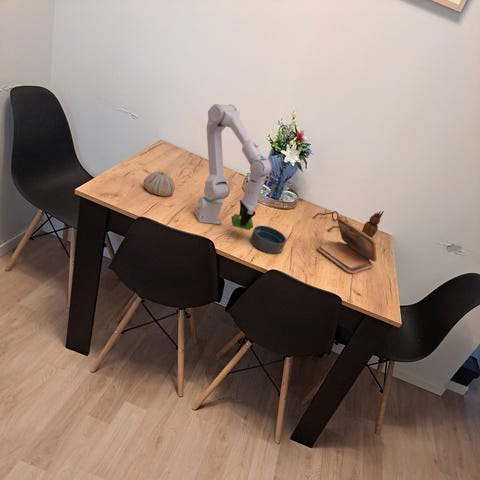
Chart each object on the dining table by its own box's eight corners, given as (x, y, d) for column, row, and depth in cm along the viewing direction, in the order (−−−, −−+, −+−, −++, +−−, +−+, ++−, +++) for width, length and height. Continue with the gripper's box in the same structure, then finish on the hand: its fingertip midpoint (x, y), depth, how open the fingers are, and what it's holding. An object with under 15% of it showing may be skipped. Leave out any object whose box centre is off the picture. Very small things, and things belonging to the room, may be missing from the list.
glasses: (346, 231, 230) (351, 223, 227) (328, 231, 223) (332, 222, 220) (331, 218, 238) (335, 209, 235) (312, 217, 231) (316, 208, 228)
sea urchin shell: (174, 201, 196) (178, 183, 191) (141, 193, 192) (145, 175, 187) (173, 188, 206) (177, 171, 201) (142, 180, 202) (146, 163, 197)
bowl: (257, 253, 183) (261, 242, 180) (245, 234, 192) (248, 224, 189) (287, 255, 189) (291, 245, 186) (273, 237, 198) (277, 227, 196)
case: (374, 267, 207) (392, 236, 198) (350, 275, 193) (368, 242, 184) (340, 243, 216) (355, 212, 207) (314, 249, 202) (329, 216, 193)
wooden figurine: (372, 237, 235) (387, 210, 227) (371, 241, 230) (386, 214, 222) (360, 231, 236) (374, 205, 227) (359, 235, 231) (373, 208, 222)
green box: (231, 225, 181) (233, 218, 179) (230, 220, 185) (232, 213, 183) (251, 230, 183) (254, 223, 182) (250, 225, 187) (253, 218, 185)
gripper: (265, 201, 171) (253, 233, 179) (260, 185, 182) (249, 216, 190) (247, 196, 169) (236, 229, 177) (243, 181, 180) (233, 212, 188)
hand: (242, 222), depth 183 cm, fingers closed on green box, 4 cm apart
